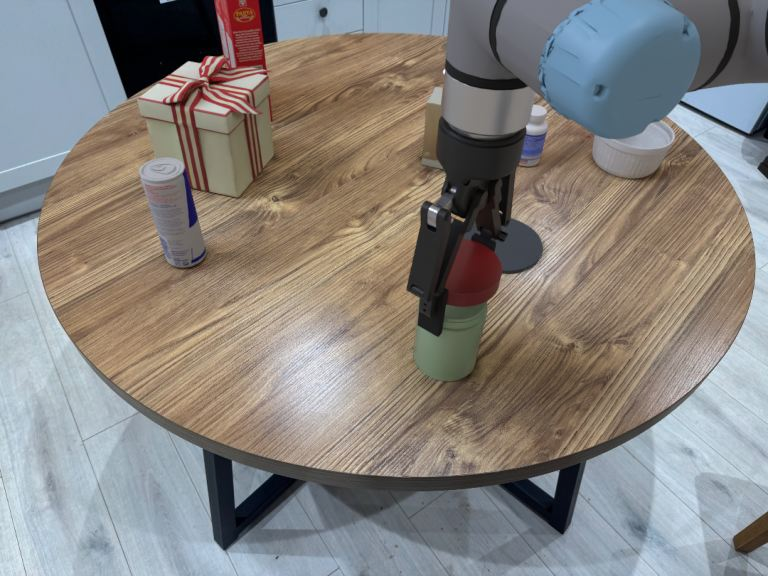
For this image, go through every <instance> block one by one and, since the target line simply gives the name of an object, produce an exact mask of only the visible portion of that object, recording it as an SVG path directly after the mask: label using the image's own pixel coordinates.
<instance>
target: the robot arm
mask: <svg viewBox="0 0 768 576" xmlns="http://www.w3.org/2000/svg"><path fill="white" fill-rule="evenodd" d="M449 1H450V2H449V11H448V12H449V13H448V22H447V23H448V24H447V35H446V44H445V45H446V47H445V60H444V61H445V62H444V69H443V70H442V77H443V82H442V88H443V91H442V100H441V109H440V111H441V115H442V116H441V117H440V119H439V124H438V133H437V143H436V157H437V159H438V161H439V163H440V164H441V166H442V167H443V169H442V170H443V171H444V173H445V177H444V181H443V184H442V187H441V191H440V197H439V198H438V199H437V200H436V201H435V202H432V201H429V200H424V201H423V202H422V204H421V206H420V213H419V217H420V221H419V222H420V225H419V229H418V234H417V238H416V243H415V247H414V251H413V257H412V261H411V264H410V265H411V266H410V270H409V275H408V280H407V284H406V289H405V290H406V292H408V293H410V294H412V295H413V296H415V297H416V298H418V299H419V298H420V301H419V300H418V302H420V303H419V314H418V324H417V325H418V326H420V327H421V328H423V329H425V330H426V331H428V332H430V333H432V334H433V335H435V336H437V337H439V336H440V335H441V334H442V330H443V323H444V316H445V309H446V302H447V296H448V289H446V288H444V287H445V284H446V282H447V279H448V276H449V274H450V271H451V269H452V266H453V263H454V261H455V258H456V255H457V253H458V250H459V247H460V245H461V242H462V240H463V237H464V234H465V233H466V232H470V231H471V230H472V227H473V225H474V222H475V223H476V228H477V231H479V232H480V235H479V234H477V233H474V234H473V235H472V237H471V240H473V241H476V242H478V243H481V244H483V245H485V246H486V247H488V248H489V249H491V250H492V251H493V252H495V248H496V242H495V240H498V241H500V242H502V243H503V242H504V241H505V240H506V238H507V236H508V233H506V232H504V231H502V228H501V227H502V226H504V227H507V226H508V225H509V224H510V220H511V218H512V212H513V211H512V210H513V202H514V194H515V193H514V192H515V184H516V173H517V169H518V167H519V166H520V165H519V163H520V160H521V155H522V151H523V146H524V142H525V137H526V132H527V129H526V126H527V125H528V123H529V121H530V118H531V113H532V108H533V105H534V102H535V99H536V94H537V95H538V96H539V97H540V98H542V99H543V100H544V101H545V102H546V103H548V106H549V107H550V108H551V109H553V110H554V111H555V112H556V113H557V114H558V115H559V116H562V117H563V118H565V119H566V120H568V121H570V120H571V121H572V122H574V123H576V124H577V125H579V126H581V127H582V128H584V130H587V131H588V132H590V133H592V134H593V135H594V136H595V135H597V136H599V137H602V138H606V139H625V138H629V137H633V136H636V135H638V134H641V133H642V132H643V131H644V130H645V129H646V128H647V126H648V125H649V124H650V123H652V122H659V121H661V120H662V121H663V120H664V119H665V118H666V117H668V116H669V114H670V113H671V112H673V111H674V109H675V108H676V107H677V106H678V105H679V103H680V102H681V101H682V100H683V98H684V97H685V95H686V94H688V93H693V92H698V91H700V90H706V89H714V88H719V87H727V86H735V85H745V84H746V85H747V84H768V0H449ZM452 215H453V216H455V217H453V216H452ZM456 217H458V218H460V219H463V220H464V221H462V220H460V219H458V218H456Z"/></svg>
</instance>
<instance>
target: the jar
mask: <svg viewBox="0 0 768 576" xmlns="http://www.w3.org/2000/svg"><path fill="white" fill-rule="evenodd" d="M419 301H420V298H419V297H418V304H417V313H416V320H415V321H416V323H415V332H414V342H413V351H412V354H413V360H414V363H415V366H416V367H417V368H418V369H419V370H420V372H421V373H423V374H424V375H425V376H427V377H428V378H431V379H433V380H436V381H439V382H454V381H459V380H462V379H464V378H466V377H467V376H468V375H470V374H471V373H472V372H473V370H474V368H475V367H476V364H477V359H478V355H479V350H480V346H481V341H482V338H483V333H484V329H485V324H486V320H487V314H488V301H489V300H488V301H486V302H484V303H482V304H479V305H476V306H470V307H457V306H450V305H446V309H445V316H444V323H443V330H442V334H441V335H440V336H439V337H437V336H435V335H433V334H432V333H430V332H428V331H426V330H425V329H423V328H421V327H420V326H418V325H417V324H418V314H419V303H420V302H419Z"/></svg>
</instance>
